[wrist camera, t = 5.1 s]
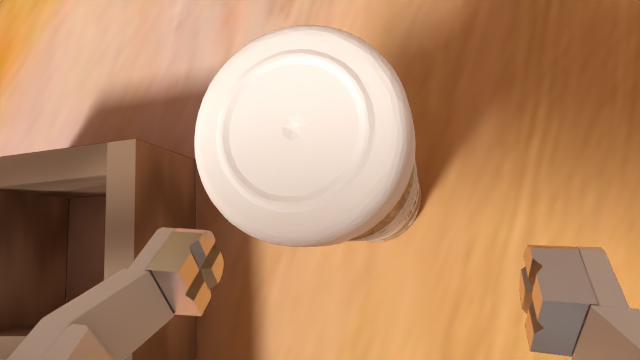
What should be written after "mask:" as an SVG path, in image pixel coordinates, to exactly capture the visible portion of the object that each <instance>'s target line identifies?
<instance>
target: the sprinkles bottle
mask: <svg viewBox="0 0 640 360" xmlns="http://www.w3.org/2000/svg"><path fill="white" fill-rule="evenodd" d="M194 144H195V158H196V163H197V168H198V172H199V175H200V178H201V181H202V184H203V186H204V188H205V191H206V192H207V194H208V196H209V198H210V199H211V201H212V202H213V204H214V205H215V206H216V208H217V209H218V210H219V211H220V212H221V213H222V215H223V216H224V217H225V218H226V219H227V220H228V221H229V222H230V223H231V224H233V225H234V226H236V227H237V228H238V229H240V230H241V231H243V232H245V233H246V234H248V235H250V236H253V237H255V238H257V239H259V240H262V241H264V242H268V243H271V244H276V245H282V246H292V247H318V246H329V245H334V244H339V243H342V242H345V241H367V242H385V241H388V240H390V239H393V238H396V237H398V236H400V235H401V234H402V233H404V232H405V231H406V230H407V229H408V228H409V227H410V226H411V225H412V224H413V222H414V221H415V219H416V217H417V214H418V212H419V209H420V205H421V198H422V195H421V187H420V183H419V180H418V174H417V166H416V162H415V149H416V141H415V130H414V124H413V118H412V113H411V109H410V106H409V103H408V99H407V96H406V93H405V90H404V88H403V85H402V83H401V81H400V79H399V77H398V76H397V74H396V72H395V70H394V69H393V67H392V66H391V65H390V64H389V63H388V61H387V60H386V59H385V58H384V57H383V56H382V55H381V54H380V53H379V52H378V51H377V50H376V49H375V48H374V47H372V46H371V45H370V44H368V43H367V42H366V41H364V40H362V39H361V38H359V37H357V36H355V35H352V34H351V33H348V32H345V31H343V30H340V29H336V28H331V27H327V26H319V25H299V26H292V27H286V28H282V29H279V30H275V31H273V32H270V33H268V34H265V35H263V36H261V37H259V38H257V39H255V40H253V41H252V42H250V43H248V44H247V45H246V46H244V47H243V48H242V49H240V50H239V51H238V52H237V53H235V54H234V55H233V56H232V57H231V58H230V59H229V60H228V61H227V62H226V63H225V64H224V66H223V67H222V68H221V69H220V70H219V71H218V73H217V74H216V76H215V77H214V79H213V80H212V82H211V83H210V85H209V87H208V89H207V91H206V93H205V96H204V98H203V100H202V103H201V106H200V109H199V112H198V116H197V121H196V127H195V143H194Z"/></svg>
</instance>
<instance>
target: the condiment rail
mask: <svg viewBox="0 0 640 360" xmlns="http://www.w3.org/2000/svg"><path fill="white" fill-rule="evenodd" d="M97 195H106V219H105V256H104V280H106V279H108V278H109V277H111V276H112V275H114V274H116V273H117V272H119V271H121V270H122V269H128V268H129V267H130V266H131V264H132V263H133V262H134V260H135V259H136V258H137V256H138V255H139V254H140V252H141V251H142V250H143V248H144V247H145V246H146V244H147V243H148V242H149V240H150V239H151V238H152V236H153V235H154V234H155V232H156V231H157V230H158V229H160V228H162V227H165V228H183V229H195V160H194V159H192V158H189V157H186V156H183V155H180V154H177V153H175V152H172V151H169V150H166V149H163V148H161V147H158V146H155V145H152V144H149V143H146V142H144V141H141V140H138V139H130V140H123V141H115V142H108V143H100V144H92V145H85V146H77V147H70V148H62V149H55V150H47V151H40V152H32V153H25V154H17V155H10V156H2V157H0V359H1V360H7V359H8V358H9V357H10V355H11V354H12V353H13V352H14V351H15V350H16V348H17V347H18V346H19V345H20V344H21V343H22V341H23V340H24V339H25V338H26V337H27V335H28V334H29V333H30V332H31V331H32V330H33V328H34V327H35V326H36V325H37V324H38V322H39V321H40V320H41V319H42V318H43V317H45V316H47V315H48V314H50V313H52V312H53V311H55V310H57V309H58V308H60V307H61V306H63V305H65V288H66V264H67V239H68V215H69V198H77V197H87V196H97ZM125 360H196V316H191V315H178V314H174V317H173V318H171V319H170V320H169V321H168V322H167V323H166V324H165V325H163V326H162V327H161V328H160V329H159V330H158V331H157V332H156V333H154V334H153V335H152V336H151V337H150V338H149V339H148V340H146V341H145V342H144V343H143V344H142V345H141V346H140V347H138V348H137V349H136V350H135V351H134V352H133V353H132V354H131V355H129V356H128V357H127V358H126V359H125Z"/></svg>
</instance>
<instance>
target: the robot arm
mask: <svg viewBox="0 0 640 360" xmlns="http://www.w3.org/2000/svg"><path fill="white" fill-rule="evenodd" d="M215 241H216V239H215V237H214V235H213V233H212V232H211V231H208V230H197V229H183V228H165V227H162V228H160V229H158V230H157V231H156V232H155V234H154V235H153V236H152V238H151V239H150V240H149V242H148V243H147V244H146V246H145V247H144V248H143V250H142V251H141V252H140V254H139V255H138V256H137V258H136V259H135V260H134V262H133V263H132V264H131V266H130V267H129V268H128V269H122V270H121V271H119V272H117V273H116V274H114V275H112V276H111V277H109V278H108V279H106V280H104V281H103V282H101V283H99V284H98V285H96V286H94V287H93V288H91V289H89V290H88V291H86V292H85V293H83V294H81V295H80V296H78V297H76V298H75V299H73V300H71V301H70V302H68V303H66V304H65V305H63V306H61V307H60V308H58V309H57V310H55V311H53V312H52V313H50V314H48V315H47V316H45V317H43V318H42V319H41V320H40V321H39V322H38V324H37V325H36V326H35V327H34V328H33V330H32V331H31V332H30V333H29V334H28V335H27V337H26V338H25V339H24V340H23V341H22V343H21V344H20V345H19V346H18V347H17V348H16V350H15V351H14V352H13V353H12V354H11V355H10V357H9V358H8V359H7V360H125V359H126V358H127V357H128V356H129V355H131V354H132V353H133V352H134V351H135V350H136V349H137V348H138V347H140V346H141V345H142V344H143V343H144V342H145V341H146V340H148V339H149V338H150V337H151V336H152V335H153V334H154V333H156V332H157V331H158V330H159V329H160V328H161V327H162V326H163V325H165V324H166V323H167V322H168V321H169V320H170V319H171V318H173V317H174V314H178V315H191V316H202V314H203V312H204V310H205V308H206V306H207V304H208V302H209V300H210V299H211V297H212V296H211V292H210V289H211V288H213V287H214V286H215V285H217V284H218V283H219V281H220V278H221V276H222V273H223V267H224V262H223V256H222V254H221V251H220V250H218V249H217V248H216V247H215V246H214V243H215ZM524 260H525V265H526V266H525V267H524V268H523V269H521V275H520V290H519V291H520V300H521V306H522V309H523V310H524V311H525V312H526V313H527V318H526V323H525V328H526V333H527V338H528V344H529V349H530V351H532V352H539V353H547V354H555V355H562V356H570V357H572V360H640V311H639V310H638V309H632V308H629V306H628V304H627V301H626V299H625V297H624V294H623V292H622V290H621V287H620V285H619V283H618V280H617V278H616V275H615V273H614V271H613V268H612V266H611V264H610V261H609V259H608V257H607V254H606V252H605V251H604V250H603V249H602V248H598V247H570V246H544V245H527V247H526V249H525V253H524ZM0 360H1V359H0Z"/></svg>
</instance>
